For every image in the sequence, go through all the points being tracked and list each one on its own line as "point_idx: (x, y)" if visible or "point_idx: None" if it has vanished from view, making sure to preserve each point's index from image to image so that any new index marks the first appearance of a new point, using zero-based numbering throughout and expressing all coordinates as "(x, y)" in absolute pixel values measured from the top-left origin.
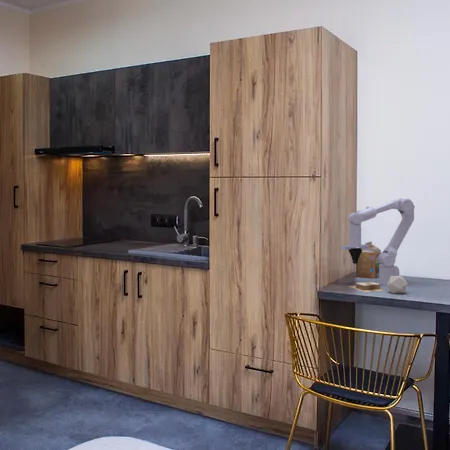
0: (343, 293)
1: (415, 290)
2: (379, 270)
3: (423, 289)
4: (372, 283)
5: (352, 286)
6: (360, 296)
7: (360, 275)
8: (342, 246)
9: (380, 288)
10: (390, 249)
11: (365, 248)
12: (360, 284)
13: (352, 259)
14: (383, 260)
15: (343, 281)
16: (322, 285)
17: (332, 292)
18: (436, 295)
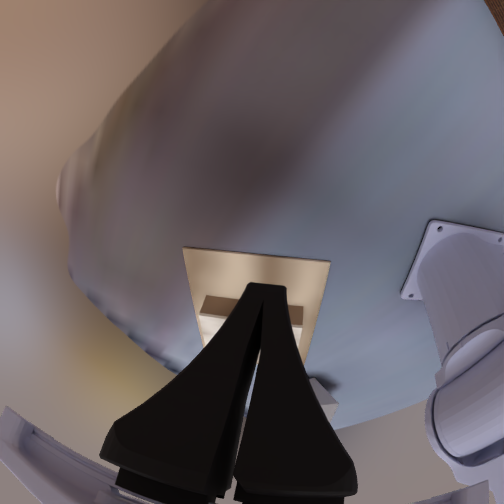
0: (128, 329)
1: (390, 380)
2: (451, 312)
3: (424, 376)
4: None
5: (209, 261)
6: (167, 368)
7: (494, 2)
8: (7, 450)
9: (308, 341)
10: (471, 483)
11: (424, 502)
12: (204, 341)
13: (229, 321)
14: (425, 423)
15: (262, 53)
16: (75, 162)
17: (97, 304)
18: (365, 414)
